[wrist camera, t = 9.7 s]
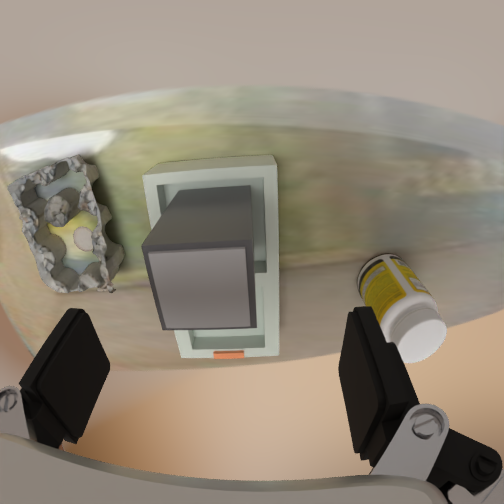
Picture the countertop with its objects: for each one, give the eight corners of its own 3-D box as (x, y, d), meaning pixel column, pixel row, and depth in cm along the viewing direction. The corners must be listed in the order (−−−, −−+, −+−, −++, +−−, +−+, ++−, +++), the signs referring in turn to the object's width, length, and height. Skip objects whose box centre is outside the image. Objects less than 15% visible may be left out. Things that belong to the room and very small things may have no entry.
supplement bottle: (355, 303, 27) (386, 374, 19) (356, 257, 25) (394, 324, 17) (403, 294, 26) (443, 357, 19) (408, 248, 24) (458, 307, 17)
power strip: (157, 163, 21) (140, 176, 18) (272, 154, 21) (277, 166, 17) (187, 330, 28) (181, 360, 24) (275, 327, 28) (279, 357, 24)
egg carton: (134, 270, 25) (118, 299, 22) (65, 278, 26) (45, 303, 22) (100, 145, 20) (73, 157, 17) (28, 168, 21) (-1, 183, 17)
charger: (178, 190, 20) (140, 247, 12) (250, 185, 20) (252, 241, 12) (187, 253, 22) (162, 332, 15) (253, 250, 22) (257, 330, 15)
